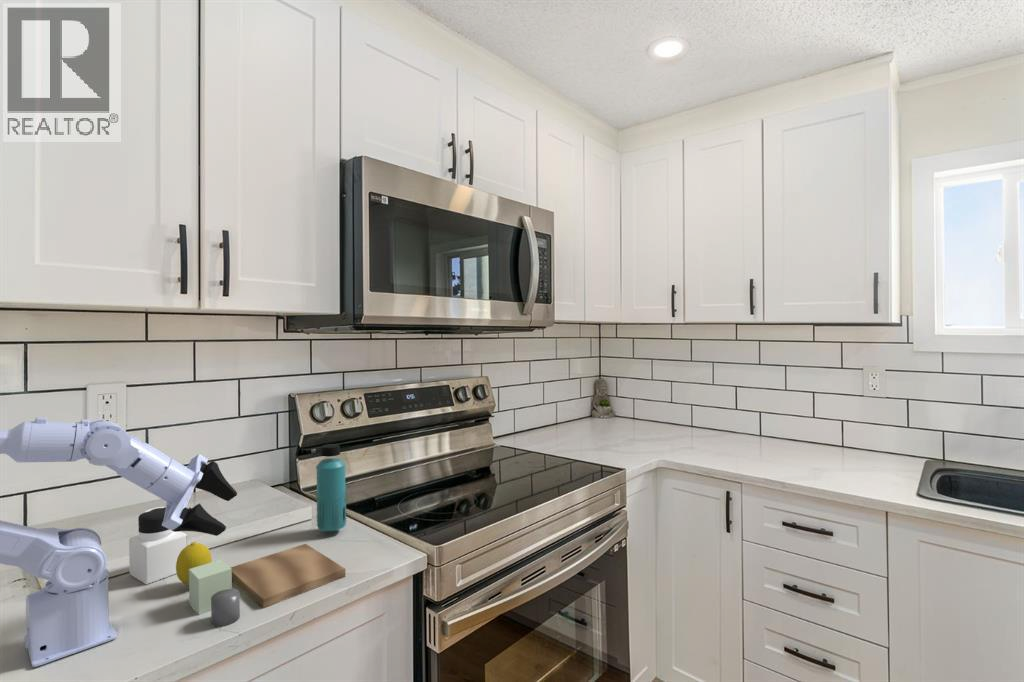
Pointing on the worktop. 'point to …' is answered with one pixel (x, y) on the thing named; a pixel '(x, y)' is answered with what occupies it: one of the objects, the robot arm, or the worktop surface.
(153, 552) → the medicine bottle
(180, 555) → the lemon
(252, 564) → the walnut board
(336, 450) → the beverage bottle
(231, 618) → the charcoal canister
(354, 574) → the worktop surface
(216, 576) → the sage block
